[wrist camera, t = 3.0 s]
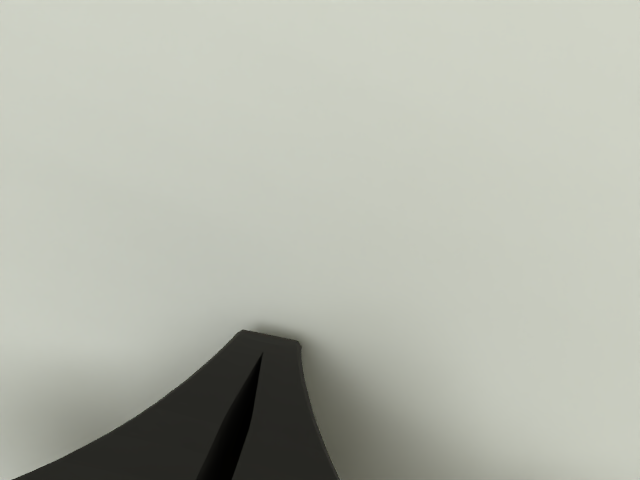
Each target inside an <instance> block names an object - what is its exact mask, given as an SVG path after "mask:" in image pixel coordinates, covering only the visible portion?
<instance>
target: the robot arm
mask: <svg viewBox="0 0 640 480" xmlns="http://www.w3.org/2000/svg"><path fill="white" fill-rule="evenodd" d="M13 480H340V479H339V477H338V475H337V473H336V470H335V468H334V466H333V464H332V462H331V460H330V457H329V455H328V452H327V450H326V448H325V445H324V442H323V440H322V437H321V434H320V432H319V429H318V426H317V423H316V420H315V417H314V414H313V411H312V407H311V403H310V400H309V396H308V392H307V389H306V384H305V380H304V374H303V368H302V360H301V345H300V344H299V342H298V341H295V340H291V339H286V338H281V337H276V336H271V335H266V334H262V333H257V332H252V331H247V330H242V331H240V332H238V333H237V334H236V335H235V336H234V337H233V338H232V339H231V340H230V341H229V342H228V343H227V344H226V345H225V346H224V347H223V348H222V349H221V350H220V351H219V352H218V353H217V354H216V355H215V356H214V357H213V358H211V359H210V360H209V361H208V362H207V363H206V364H205V365H203V366H202V367H201V368H200V369H199V370H198V371H196V372H195V373H194V374H193V375H192V376H191V377H189V378H188V379H187V380H186V381H184V382H183V383H182V384H181V385H179V386H178V387H177V388H175V389H174V390H173V391H171V392H170V393H169V394H167V395H166V396H165V397H163V398H162V399H161V400H159V401H158V402H157V403H155V404H154V405H152V406H151V407H149V408H148V409H146V410H145V411H143V412H142V413H140V414H139V415H137V416H136V417H134V418H133V419H131V420H129V421H128V422H126V423H125V424H123V425H121V426H120V427H118V428H116V429H115V430H113V431H111V432H110V433H108V434H106V435H104V436H102V437H101V438H99V439H97V440H95V441H93V442H91V443H90V444H88V445H86V446H84V447H82V448H80V449H78V450H76V451H74V452H72V453H70V454H69V455H67V456H65V457H63V458H60V459H58V460H56V461H54V462H52V463H50V464H47V465H45V466H43V467H41V468H38V469H36V470H34V471H32V472H29V473H27V474H25V475H22V476H20V477H17V478H15V479H13Z"/></svg>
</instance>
